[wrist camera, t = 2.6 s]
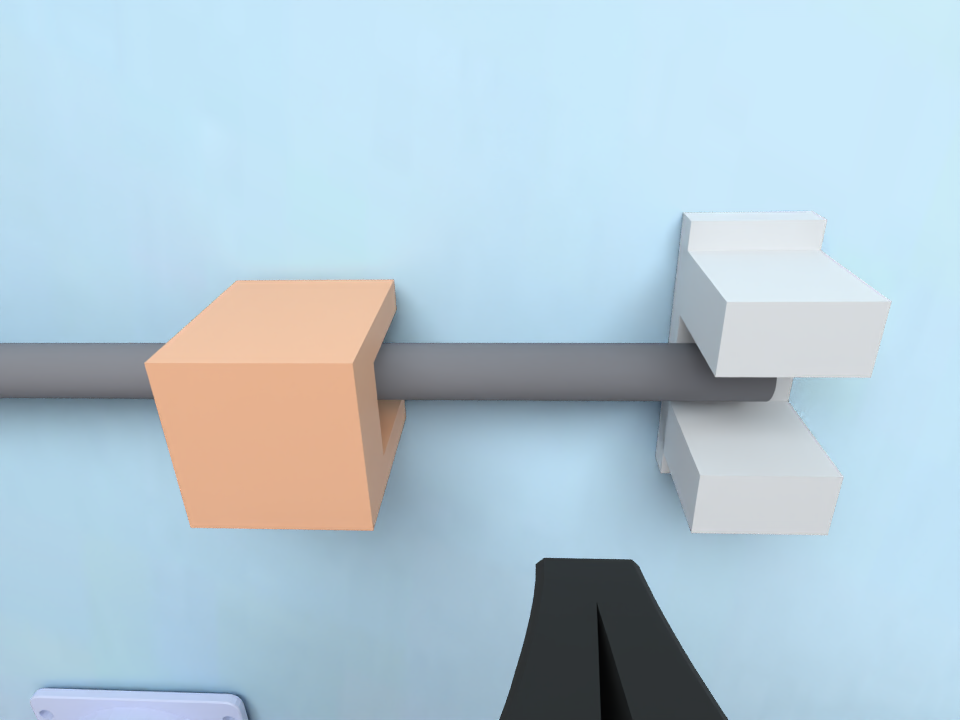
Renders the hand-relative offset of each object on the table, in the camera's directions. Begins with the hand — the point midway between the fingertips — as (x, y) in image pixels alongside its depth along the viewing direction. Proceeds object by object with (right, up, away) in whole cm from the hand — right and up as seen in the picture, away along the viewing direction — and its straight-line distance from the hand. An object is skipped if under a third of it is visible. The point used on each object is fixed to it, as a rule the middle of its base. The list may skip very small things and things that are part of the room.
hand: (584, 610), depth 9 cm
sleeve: (-6, +4, +8) cm, 11 cm away
